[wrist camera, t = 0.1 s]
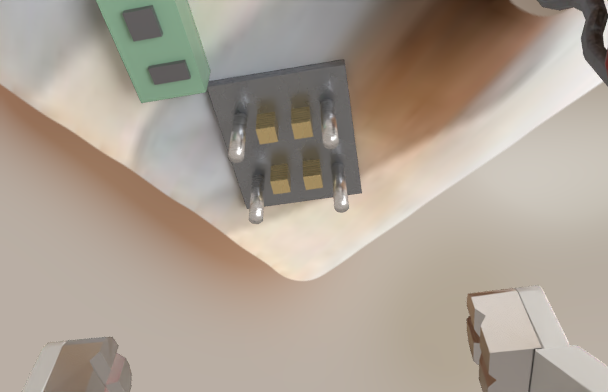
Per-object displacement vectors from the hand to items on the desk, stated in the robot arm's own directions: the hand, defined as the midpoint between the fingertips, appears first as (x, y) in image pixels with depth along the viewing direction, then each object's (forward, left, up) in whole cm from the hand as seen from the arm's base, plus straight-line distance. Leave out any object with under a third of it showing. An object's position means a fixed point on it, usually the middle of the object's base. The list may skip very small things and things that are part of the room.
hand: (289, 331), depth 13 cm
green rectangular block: (+9, -13, -39) cm, 42 cm away
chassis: (+23, -4, -39) cm, 45 cm away
